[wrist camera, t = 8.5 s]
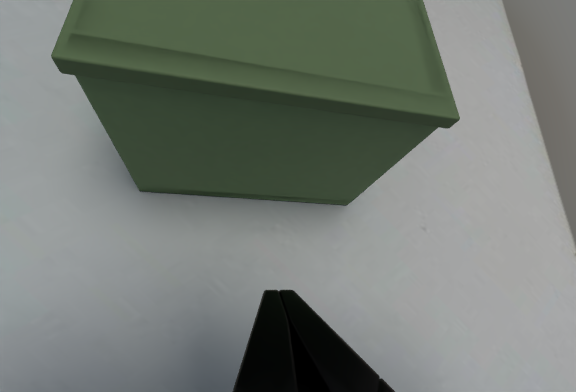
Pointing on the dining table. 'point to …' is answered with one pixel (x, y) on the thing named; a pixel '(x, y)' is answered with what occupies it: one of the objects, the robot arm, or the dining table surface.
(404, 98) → the storage box
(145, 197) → the dining table surface
